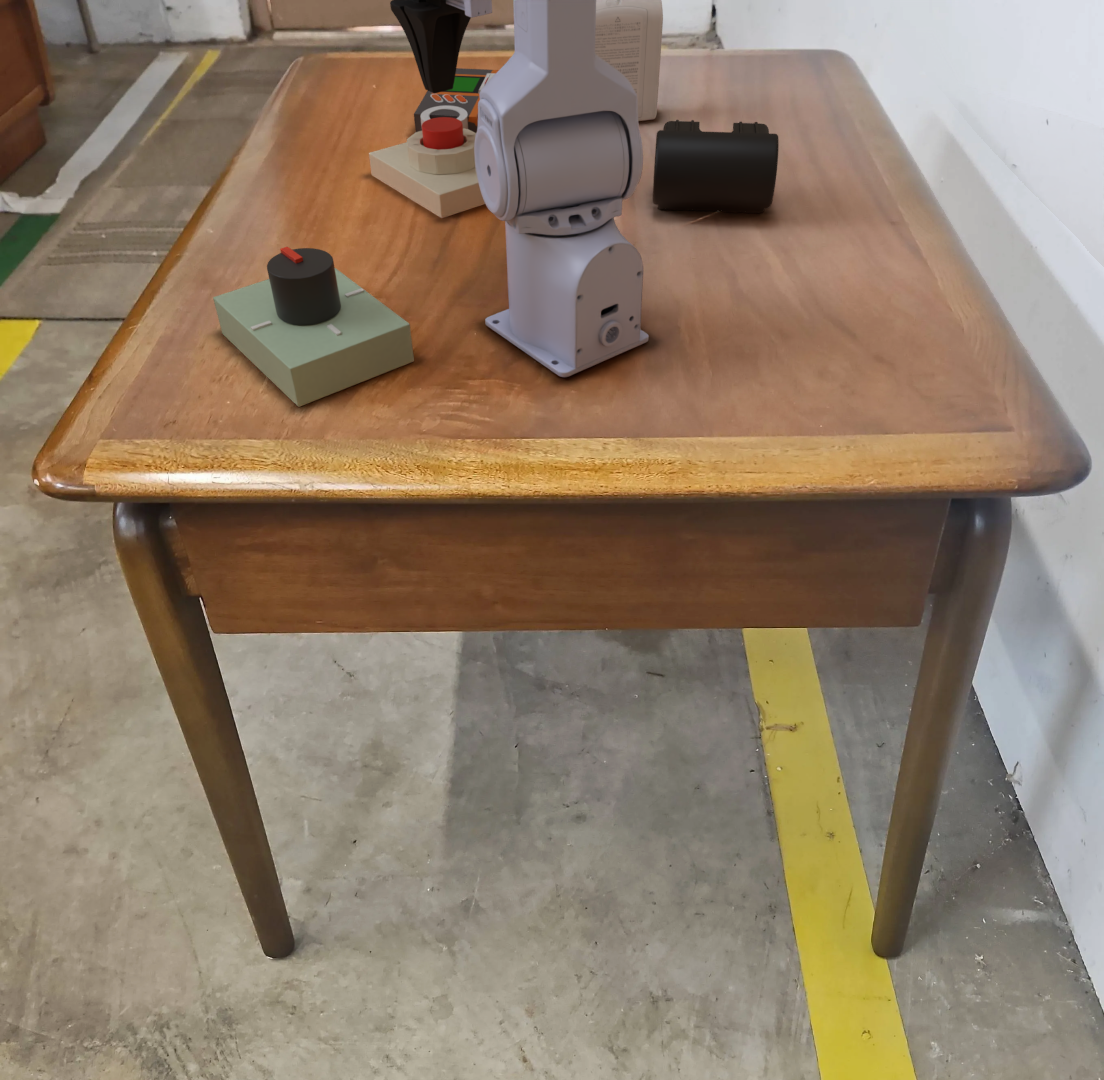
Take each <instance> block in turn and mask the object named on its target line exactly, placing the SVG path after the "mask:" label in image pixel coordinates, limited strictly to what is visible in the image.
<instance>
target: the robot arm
mask: <svg viewBox="0 0 1104 1080" xmlns="http://www.w3.org/2000/svg"><path fill="white" fill-rule="evenodd" d="M512 1H513V3H512V4H513V5H512V6H513V34H514V38H513V39H514V40H513V41H514V52H513V54H512V55H511V56H510V57H509V59H508V60H507V61H506V62H505V63H504V64H503V66H502V67H501V68H499V69H498V70H499V71H498V72H497V73H496V74H495V75H494V76H493V77H492V78H491V79H490V80H489V81H488V82H487V83H486V84H485V86H484V87H483V88H482V89H481V91H480V93H479V94H480V100H479V102H478V127H477V132H476V136H475V143H474V156H475V167H476V173H477V179H478V183H479V187H480V191H481V194H482V197H483V199H484V202H485V204H484V205H485V206H486V208H487V209H488V210H489V211H490V212H491V214H493V215H494V216H495V217H496V219H498V220H500V221H501V222H504V227H505V228H504V229H505V251H506V268H507V269H506V271H507V272H506V273H507V274H506V275H507V295H508V296H507V298H508V308H507V309H505V310H502V311H499V312H497V313H494V314H492V315H490V316H487V317H486V318H484V319H485V320H484V321H485V326H486V327H488V328H489V329H491V330H492V331H494V332H495V333H497V334H498V335H500V336H501V337H502V338H503V339H505V340H507V341H508V342H509V343H511V344H512V345H514V346H515V347H517V348H518V349H520V350H521V351H522V352H524V353H525V354H527V355H528V356H529V357H531V358H532V359H534V360H535V361H536V362H538V363H540V364H541V365H542V366H544V367H545V368H547V369H548V370H549V371H551V372H552V373H554V374H555V375H557V376H558V377H561V378H568V377H571V376H574V375H575V374H578V373H580V372H582V371H584V370H587V369H589V368H591V367H593V366H595V365H598V364H600V363H602V362H604V361H607V360H609V359H612V358H614V357H616V356H618V355H620V354H623V353H625V352H627V351H630V350H632V349H634V348H637V347H639V346H641V345H643V344H646V343H647V342H649V337H650V336H649V333H647V332H646V331H644V330H642V329H641V328H642V327H641V323H642V304H643V303H642V302H643V287H644V261H643V259H642V256H641V254H640V252H639V250H638V249H637V247H635V245H634V244H632V243H631V242H630V241H629V240H628V239H626V237H624V235H623V234H622V233H621V231H620V229H619V228H618V226H617V224H616V220H615V218H617V217H621V216H623V201H625V200H628V199H630V198H631V197H632V196H633V195H634V193H635V192H636V189H637V187H638V185H639V183H640V181H641V178H642V174H643V168H644V167H643V166H644V148H643V139H642V135H641V131H640V125H639V121H638V99H637V94H636V92H635V90H634V89H633V87H632V85H631V83H630V82H629V81H628V79H627V78H626V77H625V76H624V75H623V74H622V73H621V72H619V71H618V70H617V69H615V68H614V67H613V66H611V65H610V64H609V63H607V62H606V61H604V60H603V59H602V58H600V57H599V56H598V55H596V54H595V31H596V0H512ZM389 5H390V6H389V7H390V10H391V12H392V14H393V15H394V16H395V18H396V19H397V21H398V23H399V25H400V27H401V28H402V31H403V33H404V35H405V36H406V39H407V41H408V43H409V46H410V48H411V51H412V54H413V57H414V60H415V63H416V66H417V70H418V73H419V76H420V79H421V82H422V84H423V88H424V89H425V90H426V91H430V92H432V93H439V92H442V91H446V90H450V89H453V85H454V80H455V74H456V68H457V67H458V60H459V55H460V50H461V46H462V44H463V43H462V42H463V39H464V36H465V33H466V30H467V27H468V25H469V23H470V20H471V19H472V18H477V17H481V16H485V15H490V14H492V13H493V0H391V1H389Z"/></svg>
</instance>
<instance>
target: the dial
mask: <svg viewBox="0 0 1104 1080" xmlns="http://www.w3.org/2000/svg"><path fill="white" fill-rule="evenodd" d="M279 250H280V253H278V254H276V255H274V256H273V257H271V258H270V259H269V260H268V262H267V263H266V270H267V275H268V279H269V280H270V285H271V289H272V294H273V298H274V303H275V308H276V312H277V316H278V317H279V318H280V319H281V320H282V321H284V322H286V323H289V324H293V325H313V324H318V323H321V322H324V321H327V320H329V319H331V318H333V317H334V316H335V315H337V313H338V312H339V311H340V308H341V303H340V297H339V291H338V285H337V279H336V273H335V268H336V267H335V262H334V258H333V256H332V255H331V254H330V252H328V251H325V250H322V249H319V248H313V247H300V248H294V249H293V248H290V247H289V246H285V247H281V248H280V249H279Z"/></svg>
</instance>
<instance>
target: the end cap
mask: <svg viewBox="0 0 1104 1080" xmlns="http://www.w3.org/2000/svg"><path fill="white" fill-rule="evenodd" d="M700 128H701V127H700V121H695V120H694V119H691V121H688V120H679V119H675V120H668V121H666V122H665V123H664V125H663V128H662V129H659V130H658V131H657V132H656V138H655V148H654V149H655V151H654V166H653V167H654V168H653V183H652V187H653V188H652V203H653V204H654V205H656V206H657V209H658V210H664V211H665V210H666V211H667V210H669V211H693V212H695V211H697V212H718V213H719V212H720V213H721V212H724V213H747V214H763V213H764V212H765V209H767V210H768V209H769V208H771V206H772V203H773V201H774V196H775V195H774V194H775V190H776V183H777V182H776V181H777V175H778V165H779V149H780V148H779V146H780V145H779V143H780V141H779V135H778V134H777V133H770V130H769V127H768V125H767V124H765V123H758V121H755V122H742V121H739V122H733V124H732V131H730V132H729V131H702V130H701V129H700Z"/></svg>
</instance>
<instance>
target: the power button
mask: <svg viewBox="0 0 1104 1080" xmlns="http://www.w3.org/2000/svg"><path fill="white" fill-rule="evenodd" d="M422 134H423V144H424V146H425V147H426V148H430V149H437V150H441V149H452V148H455V147H459V146H462V145H463V144H464V138H463V124H462V122H461V121H460V120H458V119H455V118H450V117H438V118H433V119H429V120H427V121H425V122H424V123H423V124H422Z"/></svg>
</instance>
